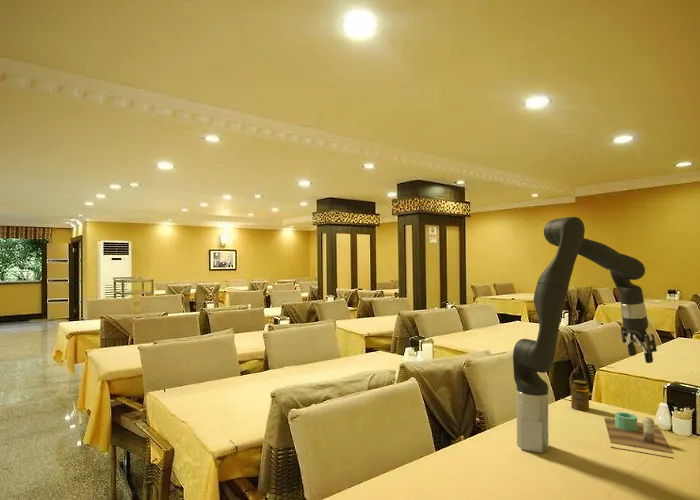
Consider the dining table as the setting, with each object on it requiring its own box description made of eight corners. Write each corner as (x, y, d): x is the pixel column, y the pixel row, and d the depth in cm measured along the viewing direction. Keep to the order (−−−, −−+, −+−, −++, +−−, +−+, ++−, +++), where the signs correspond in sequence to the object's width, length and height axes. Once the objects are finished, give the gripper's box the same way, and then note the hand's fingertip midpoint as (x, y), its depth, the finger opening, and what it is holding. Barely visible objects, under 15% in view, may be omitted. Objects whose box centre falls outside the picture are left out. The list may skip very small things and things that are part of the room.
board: (673, 458, 126) (673, 428, 126) (610, 447, 133) (610, 419, 133) (657, 429, 147) (657, 403, 147) (604, 421, 154) (603, 396, 155)
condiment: (593, 413, 163) (593, 382, 163) (582, 418, 158) (582, 385, 158) (575, 407, 169) (574, 377, 169) (563, 412, 164) (563, 380, 164)
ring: (638, 432, 141) (638, 420, 141) (616, 428, 144) (616, 416, 144) (635, 425, 147) (635, 414, 147) (614, 422, 150) (614, 411, 150)
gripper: (611, 312, 158) (617, 355, 159) (637, 320, 144) (644, 367, 144) (630, 309, 158) (637, 351, 159) (659, 316, 144) (666, 363, 145)
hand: (640, 358), depth 152 cm, fingers open, 8 cm apart
